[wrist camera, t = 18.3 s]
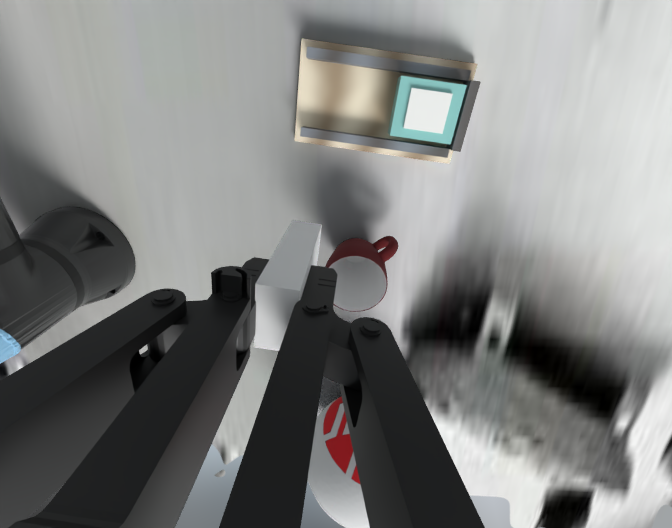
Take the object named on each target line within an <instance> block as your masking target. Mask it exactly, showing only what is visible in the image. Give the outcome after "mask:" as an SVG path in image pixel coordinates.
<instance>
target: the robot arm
mask: <svg viewBox="0 0 672 528" xmlns="http://www.w3.org/2000/svg"><path fill="white" fill-rule="evenodd" d="M321 227H322V224H316V223H310V222H303V221H296V220H293V221H292V222H291V224H290V226H289V227H288V229H287V231H286V233H285V234H284V236H283V238H282V239H281V241H280V243H279V244H278V246H277V248H276V250H275V251H274V253H273V255H272V256H271V258H270V260H268V259H262V258H255V257H254V258H252V259H250V260H248V261H247V262H245V264H244V265H243V266H242V268H241V267H237V266H227V267H221V268H218V269H216V270H214V271H213V272H211V277H212V295H211V296H210V297H209V298H208V300H202V301H186V296H185V294H184V293H183V292H181V291H179V290H175V289H160V290H156V291H153V292H150V293H148V294H146V295H144V296H143V297H141V298H139V299H138V300H136V301H134V302H133V303H131V304H129V305H128V306H126V307H124V308H122V309H121V310H119V311H117V312H116V313H114V314H112V315H111V316H109V317H107V318H106V319H104V320H102V321H101V322H99V323H97V324H95V325H94V326H92V327H90V328H89V329H87V330H85V331H84V332H82V333H80V334H79V335H77V336H75V337H74V338H72V339H70V340H68V341H67V342H65V343H63V344H62V345H60V346H58V347H57V348H55V349H53V350H52V351H50V352H48V353H46V354H45V355H43V356H41V357H40V358H38V359H36V360H35V361H33V362H31V363H30V364H28V365H26V366H25V367H23V368H21V369H19V370H18V371H16V372H14V373H13V374H11V375H9V376H8V377H6V378H4V379H3V380H1V381H0V528H175V526H176V524H177V521H178V519H179V517H180V515H181V512H182V510H183V508H184V505H185V503H186V501H187V499H188V496H189V494H190V492H191V489H192V487H193V485H194V483H195V480H196V478H197V476H198V474H199V471H200V469H201V467H202V464H203V462H204V460H205V457H206V455H207V453H208V451H209V448H210V446H211V444H212V442H213V439H214V437H215V435H216V432H217V430H218V428H219V426H220V423H221V421H222V419H223V416H224V414H225V412H226V410H227V407H228V405H229V403H230V400H231V398H232V396H233V394H234V391H235V389H236V387H237V384H238V382H239V380H240V378H241V375H242V373H243V371H244V369H245V366H246V364H247V362H248V359H249V357H250V344H251V342H252V340H253V338H254V347H256V348H262V349H269V350H275V351H279V352H278V355H277V358H276V361H275V364H274V367H273V370H272V373H271V376H270V379H269V382H268V385H267V388H266V391H265V394H264V397H263V400H262V403H261V406H260V408H259V411H258V414H257V417H256V420H255V423H254V426H253V429H252V432H251V435H250V438H249V441H248V444H247V447H246V450H245V453H244V456H243V459H242V462H241V465H240V467H239V471H238V473H237V476H236V479H235V482H234V485H233V488H232V491H231V494H230V497H229V500H228V503H227V506H226V509H225V512H224V515H223V517H222V521H221V523H220V526H219V528H300V526H301V520H302V513H303V506H304V499H305V493H306V486H307V479H308V472H309V466H310V459H311V452H312V446H313V439H314V432H315V425H316V419H317V412H318V405H319V398H320V392H321V385H322V378H323V376H324V377H326V378H328V379H330V380H333V381H335V382H337V383H339V384H340V392H341V396H342V401H343V406H344V410H345V415H346V419H347V424H348V429H349V433H350V438H351V443H352V447H353V452H354V457H355V461H356V466H357V470H358V475H359V480H360V484H361V489H362V494H363V498H364V503H365V508H366V512H367V517H368V521H369V526H370V528H485V527H484V525H483V523H482V521H481V519H480V517H479V515H478V513H477V511H476V508H475V506H474V504H473V502H472V500H471V499H470V496H469V494H468V492H467V490H466V488H465V485H464V483H463V481H462V479H461V477H460V475H459V473H458V471H457V469H456V467H455V464H454V462H453V460H452V458H451V456H450V454H449V452H448V450H447V448H446V446H445V444H444V441H443V439H442V437H441V435H440V433H439V431H438V429H437V427H436V425H435V423H434V420H433V418H432V416H431V414H430V412H429V410H428V408H427V406H426V404H425V402H424V400H423V397H422V395H421V393H420V391H419V389H418V387H417V385H416V383H415V381H414V379H413V376H412V374H411V372H410V370H409V368H408V366H407V364H406V362H405V360H404V358H403V356H402V353H401V351H400V349H399V347H398V345H397V343H396V341H395V339H394V337H393V335H392V332H391V330H390V329H389V328H388V326H387V325H386V324H385V323H383V322H382V321H380V320H377V319H374V318H368V317H364V318H358V319H356V320H354V321H353V322H352V324H351V323H349V322H346V321H344V320H342V319H341V318H339V317H338V316H337V315H336V314H335V312H334V310H333V303H334V297H335V290H336V283H337V276H338V275H337V273H336V271H335V270H334V268H327V267H321V266H317V262H318V253H319V245H320V236H321ZM134 273H135V258H134V254H133V251H132V249H131V247H130V245H129V243H128V241H127V240H126V238H125V237H124V235H123V234H122V233H121V232H120V231H119V230H118V228H117V227H115V226H114V225H113V224H112V223H111V222H110V221H108V220H107V219H105V218H104V217H102V216H100V215H99V214H97V213H95V212H92V211H90V210H87V209H83V208H78V207H63V208H59V209H56V210H53V211H51V212H48V213H45V214H43V215H42V216H40V217H39V218H37V219H36V220H35V221H34V222H33V224H32V225H30V226H29V227H28V228H27V229H26V230H25V231H23V232H22V233H21V234H20V235H19V234H18V232H17V230H16V228H15V226H14V224H13V222H12V220H11V218H10V216H9V214H8V212H7V210H6V208H5V206H4V204H3V202H2V199H1V197H0V364H1V363H2V362H4V361H5V360H7V359H9V358H10V357H12V356H15V355H16V354H18V353H19V352H20V350H21V349H23V348H24V347H25V346H27V345H28V344H29V343H31V342H32V341H33V340H35V339H36V338H37V337H39V336H40V335H41V334H43V333H44V332H46V331H47V330H48V329H50V328H51V327H52V326H54V325H55V324H56V323H58V322H59V321H60V320H62V319H63V318H65V317H66V316H67V315H69V314H70V313H71V312H73V311H74V310H75V309H77V308H78V307H81V306H84V305H87V304H90V303H93V302H97V301H100V300H103V299H106V298H109V297H111V296H113V295H115V294H117V293H118V292H120V291H121V290H122V289H123V288H125V287H126V286H127V285H128V284H129V283H130V282H131V280H132V278H133V276H134ZM146 344H147V346H148V350H147V351H146V352H144V353H143V354H141V355H140V354H139V350H140V349H141V348H142V347H144V346H145V345H146ZM65 482H66V483H65ZM64 483H65V484H64ZM63 484H64V485H63ZM62 485H63V486H62ZM61 486H62V488H61V489H60V490H59V492H58V493H57V494H56V495H55V497H54V498H53V499H52V501H51V502H50V503H49V504H48V505H47V506H46V508H45V509H44V510H43V511H42V512H40V513H39V514H38V515H36V516H35V517H32V518H28V517H30V516H31V515H32V514H33V513H34V512H35V511H36V510H37V509H38V508H39V507H40V506H41V505H42V504H43V503H44V502H45V501H46V500H48V498H50V497H51V496H52V495H53V494H54V493H55V492H56V491H57V490H58V489H59V488H60V487H61Z"/></svg>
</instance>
